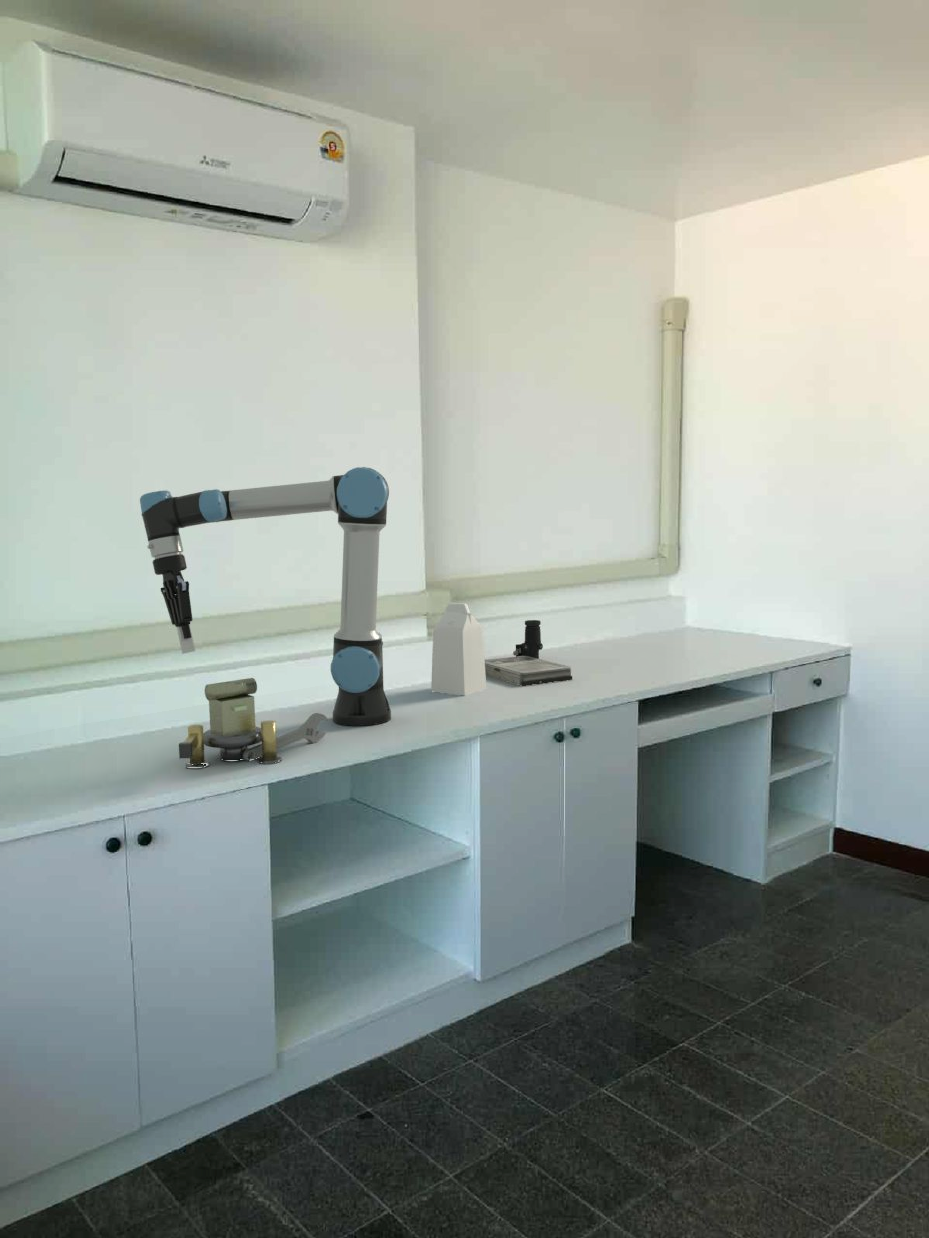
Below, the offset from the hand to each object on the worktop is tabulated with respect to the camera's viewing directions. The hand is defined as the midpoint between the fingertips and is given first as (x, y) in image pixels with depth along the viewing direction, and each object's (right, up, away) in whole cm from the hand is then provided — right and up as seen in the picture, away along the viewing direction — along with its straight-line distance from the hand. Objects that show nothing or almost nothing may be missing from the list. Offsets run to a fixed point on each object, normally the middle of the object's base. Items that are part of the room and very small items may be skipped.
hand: (188, 652), depth 244 cm
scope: (+89, -7, +107) cm, 139 cm away
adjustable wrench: (+26, -21, -10) cm, 35 cm away
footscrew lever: (+8, -24, -28) cm, 38 cm away
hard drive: (+85, -11, +77) cm, 115 cm away
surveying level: (+13, -24, -18) cm, 32 cm away
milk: (+65, -13, +56) cm, 87 cm away
